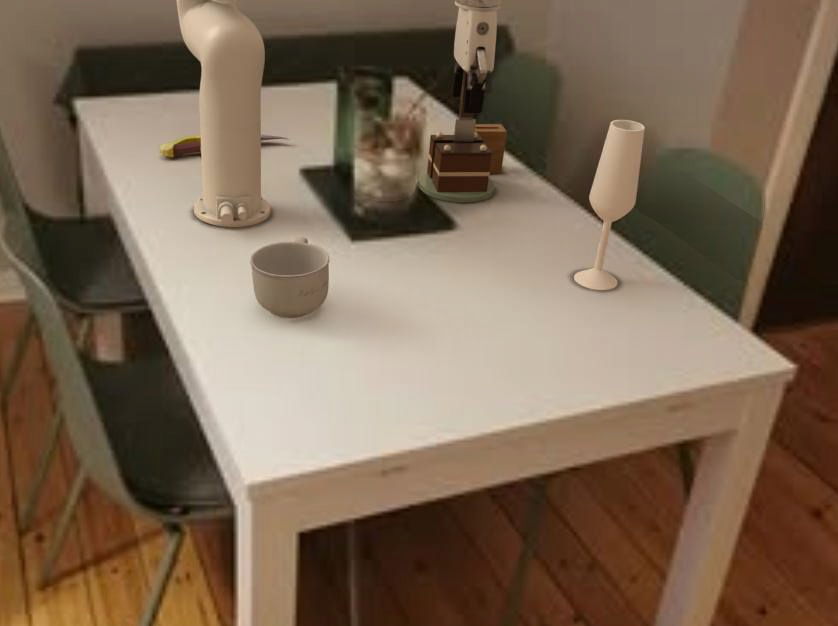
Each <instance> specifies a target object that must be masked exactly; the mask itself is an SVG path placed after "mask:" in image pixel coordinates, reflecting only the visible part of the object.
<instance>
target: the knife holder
mask: <svg viewBox="0 0 838 626" xmlns="http://www.w3.org/2000/svg"><path fill="white" fill-rule="evenodd" d="M475 132H476V133H477V134H478V135H480V136H481V138H482V139H483V143H485V144H486V145H487V146H488V148H489V149H490V151H491V152H492V157H491V165H490V174H493V175H494V174H495V175H497V174H498V175H501V174H502V170H503V165H504V163H503V162H504V156H505V150H506V149H505V148H506V141H507V134H508V131H507V129H506V128H505V127H504V125H503V124H502V123H476V124H475Z"/></svg>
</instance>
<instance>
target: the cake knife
mask: <svg viewBox="0 0 838 626" xmlns="http://www.w3.org/2000/svg"><path fill="white" fill-rule="evenodd" d="M471 69H478V68H477V67H471ZM475 76H477V75H472V81H473V79H474V77H475ZM465 88H468V85H467V72H466V71H465V70H463V79H462V89H461V97H459V98H460V99H459V109H458V118H455V123H454V124H455V125H454V133H453V135H454V142H453V143H473V140H474V132H475V124H477V120H476V119H475V113H464V111H463V105H464V96H465Z"/></svg>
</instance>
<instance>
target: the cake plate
mask: <svg viewBox="0 0 838 626" xmlns="http://www.w3.org/2000/svg"><path fill="white" fill-rule="evenodd" d="M417 185H418V188H419V190H420V191H421V192H422V193H424V194H425V195H427V196H429V197H431V198H434V199H438V200H441V201H445V202H452V203H477V202H480V201H481V202H482V201H485V200H487V199H488V198H490V197H492V196H493V194H494V192H495V182H493V180H492V179H491V178H489V180H488V188H487V192H437V190H436V188H435V186H434V185H433V183H432V178H430V177H429V175H428V174H427V171H425V172H424V173H422V174H421V175H420V176H419V177H418V184H417Z"/></svg>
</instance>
